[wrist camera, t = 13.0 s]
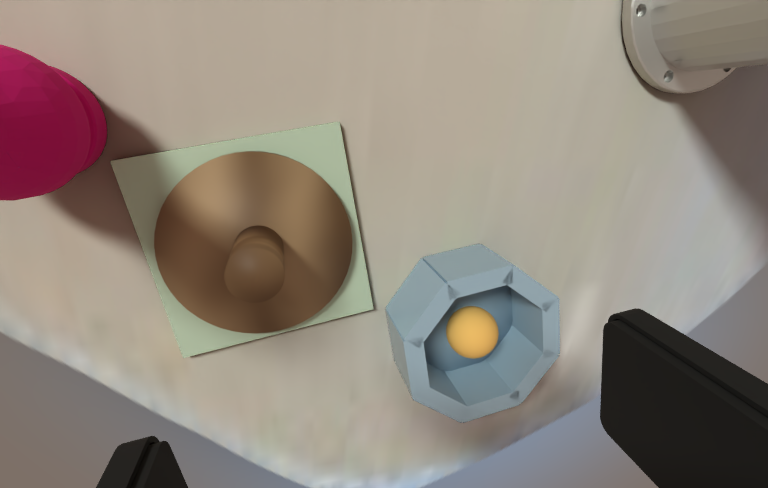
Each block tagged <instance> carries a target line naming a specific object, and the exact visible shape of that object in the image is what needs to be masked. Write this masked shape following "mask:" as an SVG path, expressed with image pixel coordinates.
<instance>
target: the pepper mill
mask: <svg viewBox="0 0 768 488" xmlns="http://www.w3.org/2000/svg"><path fill="white" fill-rule="evenodd" d="M106 139H107V124H106V120H105V116H104V113H103V110H102V108H101V106H100V104H99V103H98V101H97V100H96V98H95V97H94V95H93V94H92V93H91V92H90V91H89V90H88V89H87V88H86V87H85V86H84V85H83V84H82V83H81V82H79V81H78V80H77V79H76V78H74V77H73V76H71V75H69V74H67V73H65V72H64V71H62V70H59V69H57V68H54V67H51V66H48V65H46V64H45V63H43V62H41V61H40V60H38V59H36V58H35V57H33V56H31V55H29V54H26V53H24V52H22V51H19V50H17V49H14V48H11V47H7V46H4V45H0V200H19V199H24V198H29V197H35V196H40V195H44V194H46V193H49V192H52V191H54V190H56V189H58V188H60V187H62V186H63V185H65V184H66V183H67V182H69V181H70V180H71V179H72V178H73V177H74V176H75V175H76V174H77V173H79V172H81V171H84V170H85V169H87V168H88V167H90V166H91V165H92V164H93V163H94V162H95V161H96V160H97V159H98V158H99V157H100V155H101V153H102V151H103V149H104V146H105V144H106Z"/></svg>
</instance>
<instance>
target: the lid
mask: <svg viewBox="0 0 768 488" xmlns="http://www.w3.org/2000/svg"><path fill="white" fill-rule="evenodd" d="M352 242H353V240H352V231H351V226H350V222H349V218H348V216H347V213H346V211H345V208H344V206H343V204H342V203H341V201H340V199H339V197H338V196H337V194H336V193H335V192H334V190H333V189H332V188H331V186H330V185H329V184H328V183H327V182H326V181H325V180H324V179H323V178H322V177H321V176H320V175H318V174H317V173H316V172H315V171H313V170H312V169H311V168H309V167H307V166H305V165H304V164H302V163H300V162H298V161H296V160H294V159H291V158H289V157H286V156H282V155H279V154H275V153H269V152H263V151H244V152H235V153H231V154H227V155H222V156H220V157H217V158H214V159H212V160H209V161H207V162H206V163H204V164H202V165H200V166H198V167H197V168H195V169H194V170H193V171H191V172H190V173H189V174H187V175H186V176H185V177H184V178H183V179H182V180H181V181H180V182H179V183H178V184H177V185H176V186H175V187H174V188H173V189H172V191H171V192H170V193H169V195H168V196H167V198H166V200H165V202H164V203H163V205H162V207H161V210H160V212H159V215H158V218H157V222H156V227H155V232H154V249H155V257H156V261H157V265H158V268H159V271H160V274H161V276H162V278H163V280H164V282H165V284H166V285H167V287H168V289H169V290H170V292H171V293H172V294H173V296H174V297H175V298H176V299H177V300H178V302H180V303H181V304H182V305H183V306H184V307H185V308H186V309H187V310H188V311H190V312H191V313H192V314H194V315H195V316H197V317H198V318H200V319H202V320H204V321H205V322H207V323H209V324H212V325H214V326H217V327H219V328H222V329H226V330H230V331H234V332H241V333H269V332H274V331H280V330H283V329H287V328H290V327H293V326H295V325H297V324H299V323H302V322H304V321H305V320H307V319H309V318H311V317H312V316H314V315H315V314H316V313H318V312H319V311H320V310H322V309H323V308H324V307H325V306H326V305H327V304H328V303H329V302H330V301H331V299H332V298H333V297H334V296H335V295H336V293H337V292H338V290H339V289H340V287H341V285H342V284H343V282H344V279H345V277H346V275H347V273H348V269H349V266H350V263H351V256H352Z"/></svg>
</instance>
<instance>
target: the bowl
mask: <svg viewBox="0 0 768 488" xmlns="http://www.w3.org/2000/svg"><path fill="white" fill-rule="evenodd" d="M466 306H476V307H480V308H482V309H484V310H486V311H487V312H489V313H490V314H491V315H492V316H493V318H494V319H495V321H496V323H497V326H498V332H499V336H498V341H497V344H496V346H495V347H494V349H493V350H492V351H491V352H490V353H489V354H487V355H486V356H483V357H481V358H475V359H471V358H466V357H463V356H461V355H459V354H458V353H456V352H455V351H454V350H453V349H452V347H451V346H450V344H449V342H448V340H447V336H446V326H447V323H448V320H449V318H450V317H451V315H452V314H453V313H454V312H455V311H457V310H458V309H460V308H463V307H466ZM385 310H386V316H387V322H388V328H389V334H390V339H391V345H392V351H393V357H394V361H395V363H396V365H397V367H398V370H399V372H400V374H401V376H402V378H403V380H404V382H405V384H406V386H407V388H408V391H409V393H410V395H411V397H412V398H413V400H415V401H417V402H419V403H421V404H423V405H425V406H427V407H429V408H431V409H433V410H435V411H437V412H439V413H441V414H444V415H446V416H448V417H450V418H452V419H454V420H456V421H458V422H460V423H462V422H463V423H465V422H468V421H471V420H474V419H477V418H480V417H483V416H486V415H490V414H493V413H496V412H499V411H502V410H505V409H508V408H511V407H515V406H518V405H520V403H522V402H523V401H524V400H525V398H526V397H527V396H528V395H529V393H530V392H531V391H532V390H533V388H534V387H535V386H536V384H537V383H538V382H539V381H540V379H541V378H542V377H543V376H544V374H545V373H546V372H547V370H548V369H549V368H550V367H551V365H552V364H553V363H554V362H555V360H556V359H557V358H558V357H559V355H558V354H560V326H559V298H558V296H556V295H555V294H553V293H552V292H551V291H549V290H548V289H546V288H545V287H544V286H542V285H541V284H540V283H538V282H537V281H535V280H534V279H533V278H531V277H530V276H528V275H527V274H526V273H524V272H523V271H522V270H520V269H519V268H517V267H516V266H515V265H513V264H511V263H510V262H508V261H507V260H505V259H504V258H502V257H501V256H499V255H498V254H496V253H494V252H493V251H491V250H490V249H488V248H487V247H485V246H484V245H482V244H476V245H472V246H468V247H463V248H459V249H455V250H451V251H447V252H443V253H438V254H434V255H430V256H426V257H423V259H420V261H419V262H418V263H417V265H416V266H415V268H414V269H413V270H412V272H411V273H410V275H409V276H408V277H407V279H406V280H405V281H404V283H403V284H402V286H401V287H400V288H399V290H398V291H397V293H396V294H395V295H394V297H393V298H392V300H391V301H390V302H389V304H388V305H387V307H386V309H385Z"/></svg>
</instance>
